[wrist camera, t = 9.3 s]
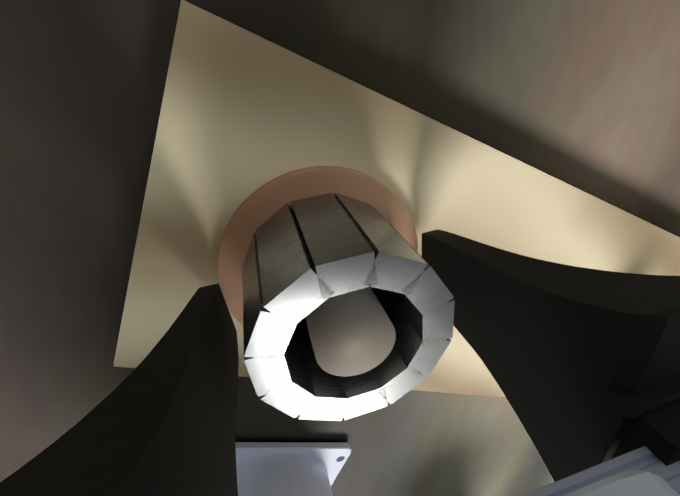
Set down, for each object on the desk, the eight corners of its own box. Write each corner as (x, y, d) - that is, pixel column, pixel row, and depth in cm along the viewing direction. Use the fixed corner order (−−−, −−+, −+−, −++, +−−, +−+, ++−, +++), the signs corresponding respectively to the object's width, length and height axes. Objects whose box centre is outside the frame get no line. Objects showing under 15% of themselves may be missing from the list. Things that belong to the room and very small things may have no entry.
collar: (397, 306, 14) (449, 385, 10) (266, 343, 13) (275, 442, 10) (391, 179, 11) (459, 230, 8) (224, 215, 10) (217, 290, 7)
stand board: (581, 387, 25) (666, 467, 20) (124, 338, 14) (58, 497, 9) (701, 250, 21) (846, 308, 16) (188, 7, 9) (132, -58, 4)
